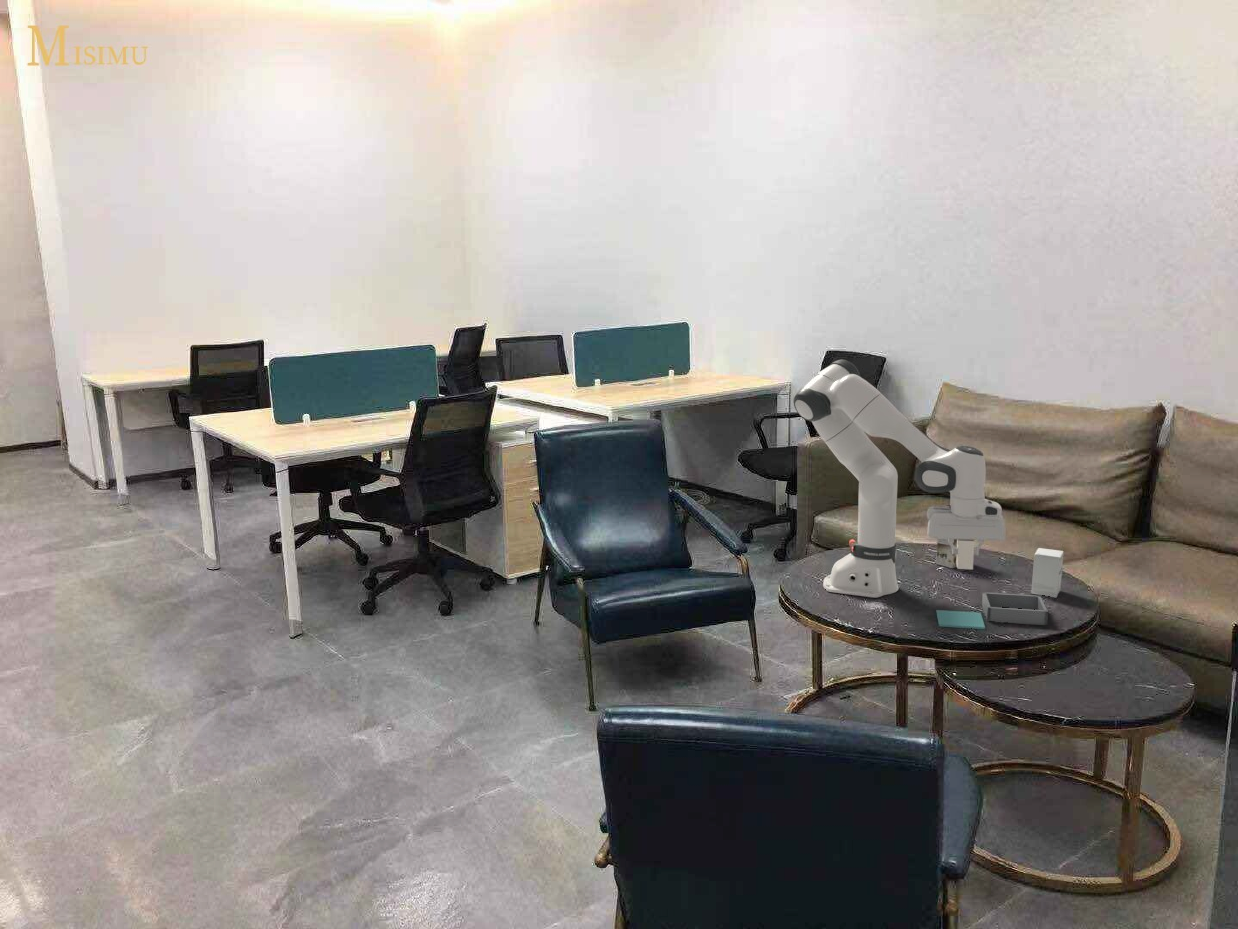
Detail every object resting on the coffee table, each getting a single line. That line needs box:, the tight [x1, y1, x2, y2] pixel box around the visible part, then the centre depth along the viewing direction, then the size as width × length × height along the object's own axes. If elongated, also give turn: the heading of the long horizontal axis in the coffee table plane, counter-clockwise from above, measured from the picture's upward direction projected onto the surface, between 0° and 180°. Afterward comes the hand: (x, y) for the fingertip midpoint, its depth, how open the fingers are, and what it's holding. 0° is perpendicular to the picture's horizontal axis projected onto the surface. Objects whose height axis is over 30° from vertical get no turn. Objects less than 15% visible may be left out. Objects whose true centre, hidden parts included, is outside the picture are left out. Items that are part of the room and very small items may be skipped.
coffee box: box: [935, 539, 957, 569], centre depth 323 cm, size 9×6×16 cm
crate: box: [981, 592, 1049, 626], centre depth 280 cm, size 16×13×4 cm
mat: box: [935, 609, 986, 630], centre depth 277 cm, size 12×11×1 cm
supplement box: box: [1030, 547, 1065, 599], centre depth 296 cm, size 7×7×13 cm
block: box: [956, 539, 975, 570], centre depth 272 cm, size 4×4×8 cm
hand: (965, 554), depth 272 cm, fingers closed on block, 4 cm apart
